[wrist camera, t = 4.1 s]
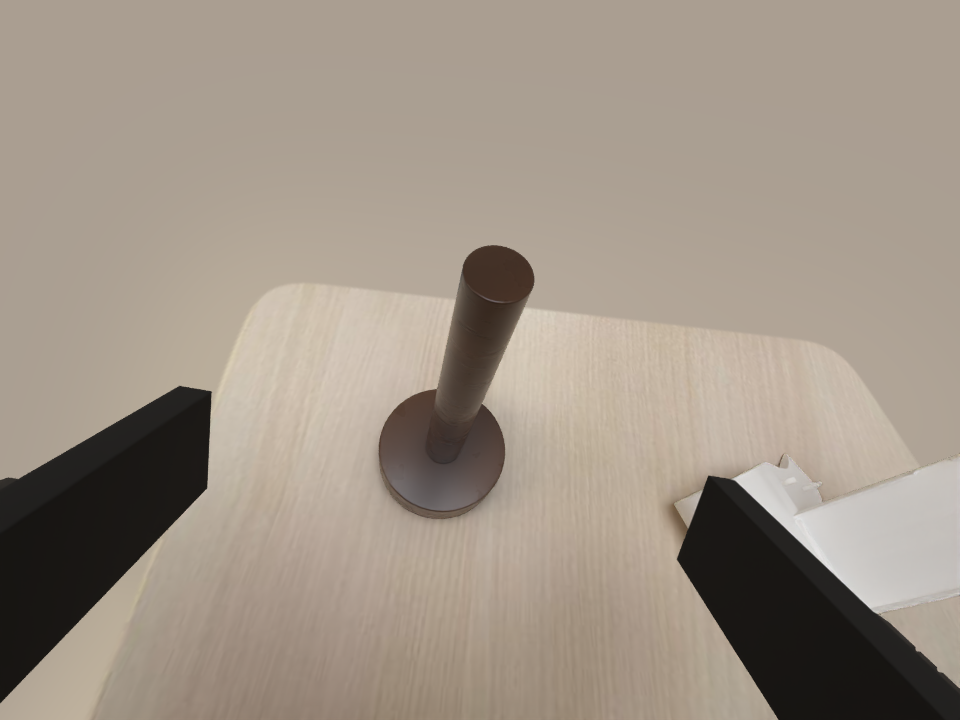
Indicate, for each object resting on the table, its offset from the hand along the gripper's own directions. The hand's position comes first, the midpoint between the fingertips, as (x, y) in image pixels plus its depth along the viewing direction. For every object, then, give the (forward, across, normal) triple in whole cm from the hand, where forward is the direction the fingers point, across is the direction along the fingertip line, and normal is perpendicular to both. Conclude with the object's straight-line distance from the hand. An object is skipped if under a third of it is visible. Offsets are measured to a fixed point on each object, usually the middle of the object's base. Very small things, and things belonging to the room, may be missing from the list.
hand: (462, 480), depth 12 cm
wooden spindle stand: (+12, 0, -6) cm, 13 cm away
